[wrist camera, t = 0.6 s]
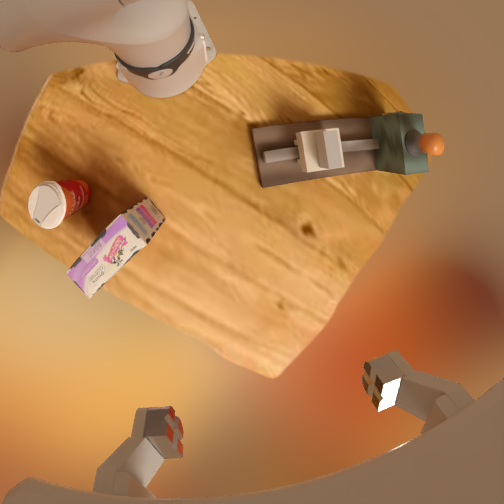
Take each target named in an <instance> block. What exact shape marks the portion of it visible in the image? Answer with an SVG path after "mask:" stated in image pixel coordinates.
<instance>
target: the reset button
mask: <svg viewBox="0 0 504 504" xmlns="http://www.w3.org/2000/svg"><path fill="white" fill-rule="evenodd" d="M419 147H420V149H421V151H422V152H423V153H425V154H432V155H440V154H442V153H443V151H444V141H443V138H442V136H441V135H440V134H437V133H423V134H421V136H420V137H419Z"/></svg>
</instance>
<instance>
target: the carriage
mask: <svg viewBox="0 0 504 504" xmlns="http://www.w3.org/2000/svg"><path fill="white" fill-rule="evenodd" d="M296 138H297V140H294V144H295V145H298V150H299V156H300V159H297V162H298V165H301V169H302V172H307V173H308V172H314V171H321V170H328V169H335V168H342V167H344V159H343V152H342V146H341V139H340V133H339V128H332V129H321V130H311V131H302V132H297V133H296Z"/></svg>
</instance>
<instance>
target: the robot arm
mask: <svg viewBox="0 0 504 504" xmlns="http://www.w3.org/2000/svg"><path fill="white" fill-rule="evenodd" d="M58 42H82V43H91V44H98V45H103V46H106V47H108V48H109V49H110V50H112V51H113V52H114V53H115V56H116V58H117V63H116V67H117V69H118V73H117V77H118V79H119V80H120V81H121V82H123V83H127V84H131V85H133V86H134V87H135V88H136V89H137V90H138V91H140V92H141V93H143V94H145V95H147V96H150V97H156V98H165V97H171V96H174V95H177V94H180V93H182V92H184V91H185V90H187V89H188V88H190V87H191V86H192V85H193V84H194V83H195V82H196V81H197V79H198V78H199V77H200V75H201V73H202V71H203V69H204V68H205V66H206V65H207V64H208V63H210V62H211V61H212V60H213V59H214V58H215V57H216V50H215V48H214V46H213V43H212V41H211V39H210V37H209V35H208V33H207V31H206V29H205V26H204V24H203V22H202V20H201V18H200V16H199V14H198V12H197V10H196V7H195V6H194V4H193V2H192V1H189V0H0V48H2V49H4V50H7V51H10V52H20V51H23V50H26V49H29V48H32V47H36V46H39V45H44V44H50V43H58ZM207 47H209V48H210V49H209V50H206V48H207ZM363 368H364V370H365V373H364V374H363V376H362V382H363V387H364V389H365V391H366V393H367V394H368V395H370V396H372V403H373V404H374V406H375V408H376V409H377V410H378V411H380V410H383V409H385V408H388V407H390V406H393V405H395V406H397V407H399V408H401V409H403V410H404V411H406V412H408V413H410V414H412V415H414V416H416V417H418V418H420V419H422V420H424V421H426V422H425V424H424V426H423V428H422V431H421V435H419V436H418V437H416V438H414V439H412V440H410V441H408V442H406V443H404V444H402V445H401V446H398V447H396V448H394V449H392V450H390V451H387V452H385V453H383V454H381V455H378V456H376V457H374V458H371V459H369V460H366V461H364V462H361V463H359V464H356V465H354V466H351V467H349V468H345V469H343V470H340V471H337V472H334V473H331V474H327V475H325V476H321V477H318V478H314V479H311V480H307V481H303V482H300V483H295V484H291V485H287V486H283V487H278V488H273V489H268V490H263V491H257V492H251V493H244V494H237V495H228V496H218V497H205V498H181V499H165V498H163V499H162V498H156V497H155V495H154V494H152V493H151V492H150V491H149V490H147V489H146V486H147V485H148V484H149V482H150V481H151V479H152V478H153V476H154V475H155V473H156V472H157V470H158V469H159V467H160V466H161V464H162V463H163V461H164V459H168V458H181V457H183V444H182V443H181V441H180V440H181V439H182V438H183V427H182V423H181V421H180V419H179V418H178V417H177V416H175V410H174V409H173V407H171V406H168V407H150V408H138V409H137V411H136V414H135V419H134V425H133V430H132V435H131V437H128V439H126V440H125V441H124V442H123V443H122V444H121V445H120V446H119V447H118V448H117V449H116V450H115V452H114V453H113V454H112V455H111V456H110V457H109V458H108V459H107V460H106V461H105V462H104V463H103V464H102V465H101V466H100V467H99V468H98V469H97V473H96V477H95V482H94V488H93V492H91V491H85V490H80V489H75V488H71V487H66V486H62V485H58V484H54V483H50V482H47V481H43V480H40V479H37V478H33V477H28V478H26V479H24V480H23V481H21V482H20V483H18V484H17V485H16V486H15V487H13V488H12V489H11V490H10V491H9V492H8V493H7V495H6V496H5V498H4V500H3V503H2V504H504V378H503V379H501V380H500V381H499V382H498V383H497V384H495V385H494V386H493V387H492V388H490V389H489V390H488V391H487V392H485V393H484V394H483V395H482V396H480V397H479V398H477V399H476V400H474V399H473V397H472V396H471V395H470V394H469V393H468V392H467V391H466V390H465V388H464V387H463V386H462V385H461V384H459V383H456V382H453V381H449V380H446V379H443V378H440V377H437V376H434V375H430V374H427V373H424V372H421V371H414V370H413V368H412V367H411V366H410V365H409V364H408V363H407V361H405V359H404V358H403V357H402V356H401V355H400V353H399V352H398V351H396V350H394V351H392V352H389V353H386V354H384V355H381V356H378V357H376V358H374V359H371V360H368V361H365V363H364V367H363Z"/></svg>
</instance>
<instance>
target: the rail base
mask: <svg viewBox="0 0 504 504" xmlns="http://www.w3.org/2000/svg"><path fill="white" fill-rule="evenodd" d="M332 128H339V133H340V139H341V146H342V152H343V159H344V167H342V168H335V169H328V170H321V171H314V172H308V173H307V172H302V169H301V165H298V162H297V159H300V156H299V150H298V145H295V144H294V140H297V138H296V133H297V132H302V131H311V130H321V129H332ZM251 132H252V137H253V142H254V148H255V153H256V158H257V164H258V169H259V175H260V180H261V186H262V188H266V187H271V186H276V185H282V184H288V183H293V182H299V181H305V180H311V179H317V178H324V177H330V176H337V175H344V174H351V173H359V172H366V171H374V170H379V171H385V172H392V173H398V174H404V175H407V174H416V173H425V172H429V171H428V158H427V154H425V153H423V152H422V151H421V149H420V147H419V137H420V136H421V134H423V133H425V131H424V124H423V118H422V114H413V113H405V112H393V113H384V114H382V116H376V117H370V118H348V119H332V120H319V121H308V122H299V123H290V124H282V125H274V126H267V127H260V128H254V129H251Z"/></svg>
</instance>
